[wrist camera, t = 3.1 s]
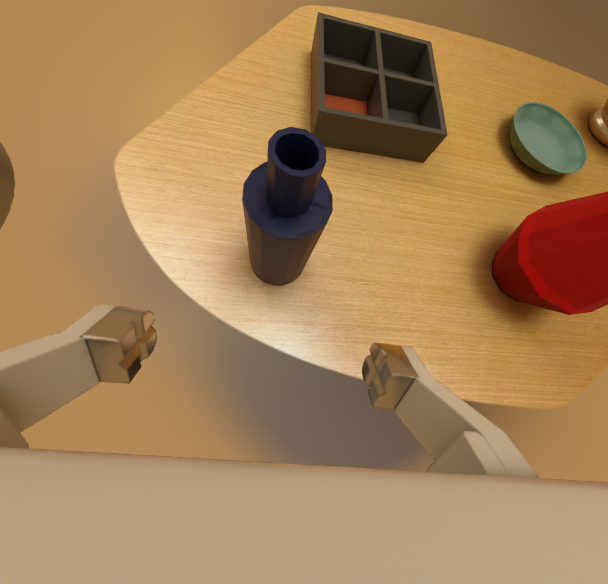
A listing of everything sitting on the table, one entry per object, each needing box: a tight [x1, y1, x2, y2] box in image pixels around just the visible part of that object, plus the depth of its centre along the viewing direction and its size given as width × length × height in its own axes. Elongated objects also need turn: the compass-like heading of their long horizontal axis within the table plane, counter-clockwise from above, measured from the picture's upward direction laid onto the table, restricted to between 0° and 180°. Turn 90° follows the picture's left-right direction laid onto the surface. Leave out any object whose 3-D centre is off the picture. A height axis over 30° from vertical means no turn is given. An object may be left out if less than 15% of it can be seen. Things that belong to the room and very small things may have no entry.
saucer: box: [510, 102, 587, 175], centre depth 40 cm, size 15×15×3 cm
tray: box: [311, 12, 447, 162], centre depth 34 cm, size 18×18×5 cm
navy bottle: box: [242, 127, 333, 285], centre depth 20 cm, size 6×6×16 cm
